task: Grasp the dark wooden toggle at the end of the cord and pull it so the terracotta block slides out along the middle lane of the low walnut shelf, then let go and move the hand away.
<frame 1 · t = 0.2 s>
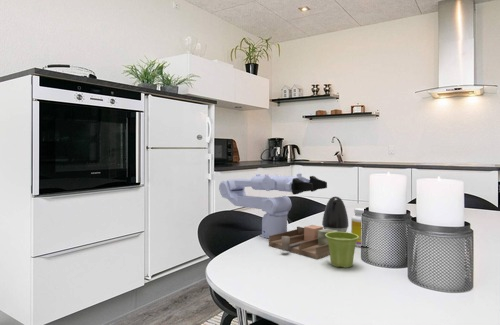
hand: (319, 186, 118), 21 cm above the table, tool horizontal, fingers open, 7 cm apart
lane shelf: (306, 247, 120), on the table
black rounded cone: (335, 235, 139), on the table
supplement bottle: (360, 245, 124), on the table
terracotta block: (301, 237, 118), point 4 cm above the table, slide at 0.0 cm
plant pot: (341, 265, 102), on the table
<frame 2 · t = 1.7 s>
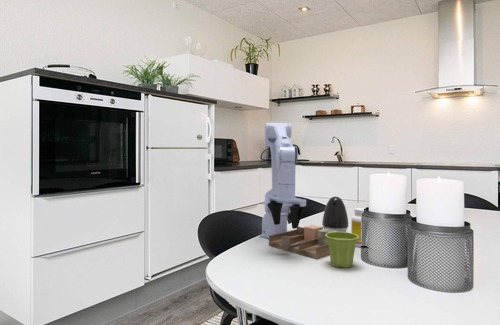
hand: (285, 226, 112), 9 cm above the table, tool pointing down, fingers open, 7 cm apart
nothing on the table moved.
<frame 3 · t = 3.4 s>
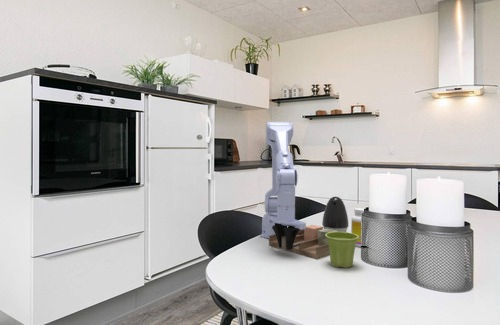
hand: (285, 248, 112), 2 cm above the table, tool pointing down, fingers closed on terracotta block, 3 cm apart
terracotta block: (301, 237, 118), point 4 cm above the table, slide at 0.0 cm, touching gripper
everything else where it was.
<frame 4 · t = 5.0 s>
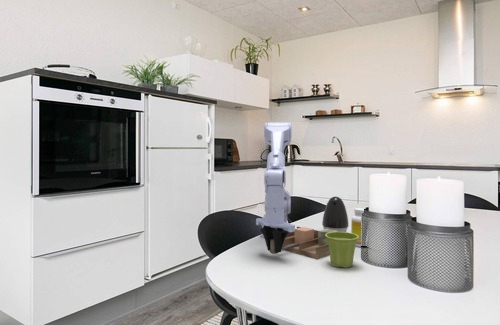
hand: (274, 251, 108), 2 cm above the table, tool pointing down, fingers closed on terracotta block, 3 cm apart
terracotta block: (291, 239, 114), point 4 cm above the table, slide at 5.3 cm, touching gripper
everything else where it was.
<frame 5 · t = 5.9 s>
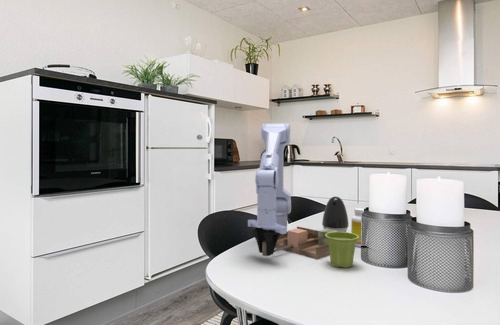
hand: (266, 253, 106), 2 cm above the table, tool pointing down, fingers closed on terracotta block, 3 cm apart
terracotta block: (283, 241, 112), point 4 cm above the table, slide at 8.9 cm, touching gripper
everything else where it was.
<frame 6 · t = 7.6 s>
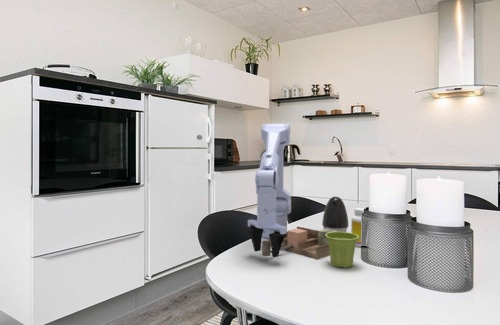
hand: (266, 253, 106), 2 cm above the table, tool pointing down, fingers open, 7 cm apart
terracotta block: (283, 241, 111), point 4 cm above the table, slide at 9.0 cm
everything else where it was.
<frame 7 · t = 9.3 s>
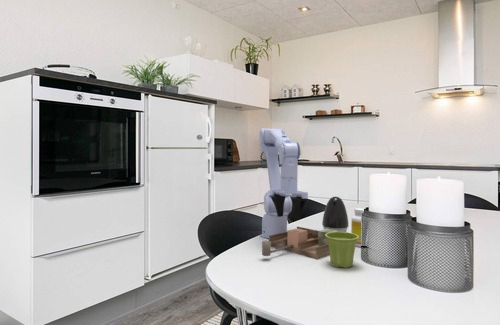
hand: (288, 217, 118), 10 cm above the table, tool pointing down, fingers open, 7 cm apart
nothing on the table moved.
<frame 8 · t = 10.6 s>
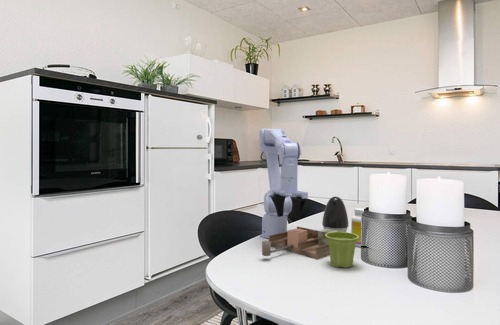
hand: (288, 217, 118), 10 cm above the table, tool pointing down, fingers open, 7 cm apart
nothing on the table moved.
at the end: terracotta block slide at 9.0 cm; the gripper is holding nothing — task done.
